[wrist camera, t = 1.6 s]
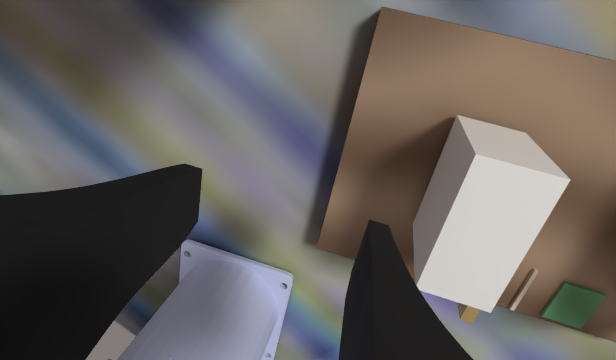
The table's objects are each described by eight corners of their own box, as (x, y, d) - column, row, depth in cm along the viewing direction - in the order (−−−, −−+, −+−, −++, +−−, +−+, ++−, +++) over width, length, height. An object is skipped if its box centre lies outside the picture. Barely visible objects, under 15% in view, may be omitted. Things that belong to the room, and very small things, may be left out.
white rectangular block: (451, 279, 20) (464, 356, 16) (397, 262, 21) (395, 332, 16) (525, 132, 16) (570, 180, 12) (456, 114, 17) (475, 154, 12)
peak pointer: (465, 290, 20) (472, 323, 18) (454, 286, 20) (459, 319, 18) (480, 262, 19) (489, 293, 17) (468, 258, 19) (476, 289, 17)
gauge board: (628, 329, 21) (703, 438, 16) (321, 233, 23) (297, 301, 18) (819, 108, 15) (1044, 164, 10) (383, 6, 17) (373, 7, 12)
